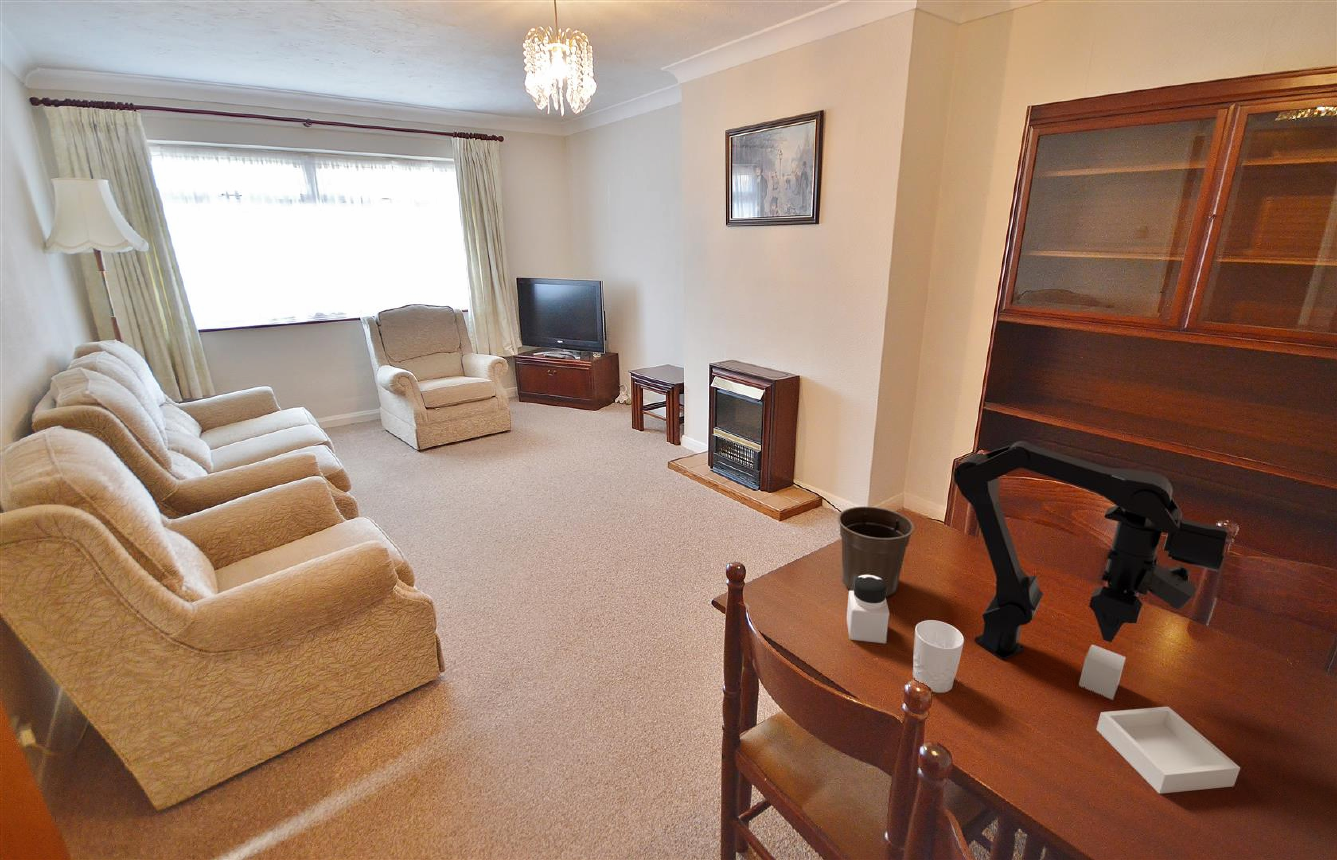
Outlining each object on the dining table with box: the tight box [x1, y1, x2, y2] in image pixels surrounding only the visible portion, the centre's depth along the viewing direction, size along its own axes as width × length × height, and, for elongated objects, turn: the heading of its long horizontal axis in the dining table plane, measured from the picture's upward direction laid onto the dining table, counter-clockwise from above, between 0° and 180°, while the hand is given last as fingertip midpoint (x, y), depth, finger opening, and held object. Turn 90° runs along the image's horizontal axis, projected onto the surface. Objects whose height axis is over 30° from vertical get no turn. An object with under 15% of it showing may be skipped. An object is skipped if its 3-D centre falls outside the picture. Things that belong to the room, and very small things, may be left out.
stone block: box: [1078, 644, 1126, 701], centre depth 103 cm, size 5×5×6 cm
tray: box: [1096, 706, 1241, 794], centre depth 89 cm, size 12×12×4 cm
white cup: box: [912, 619, 965, 694], centre depth 105 cm, size 8×8×10 cm
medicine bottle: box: [846, 575, 891, 644], centre depth 118 cm, size 7×7×12 cm
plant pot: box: [837, 506, 915, 597], centre depth 133 cm, size 16×16×16 cm
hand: (1112, 628), depth 100 cm, fingers open, 9 cm apart
